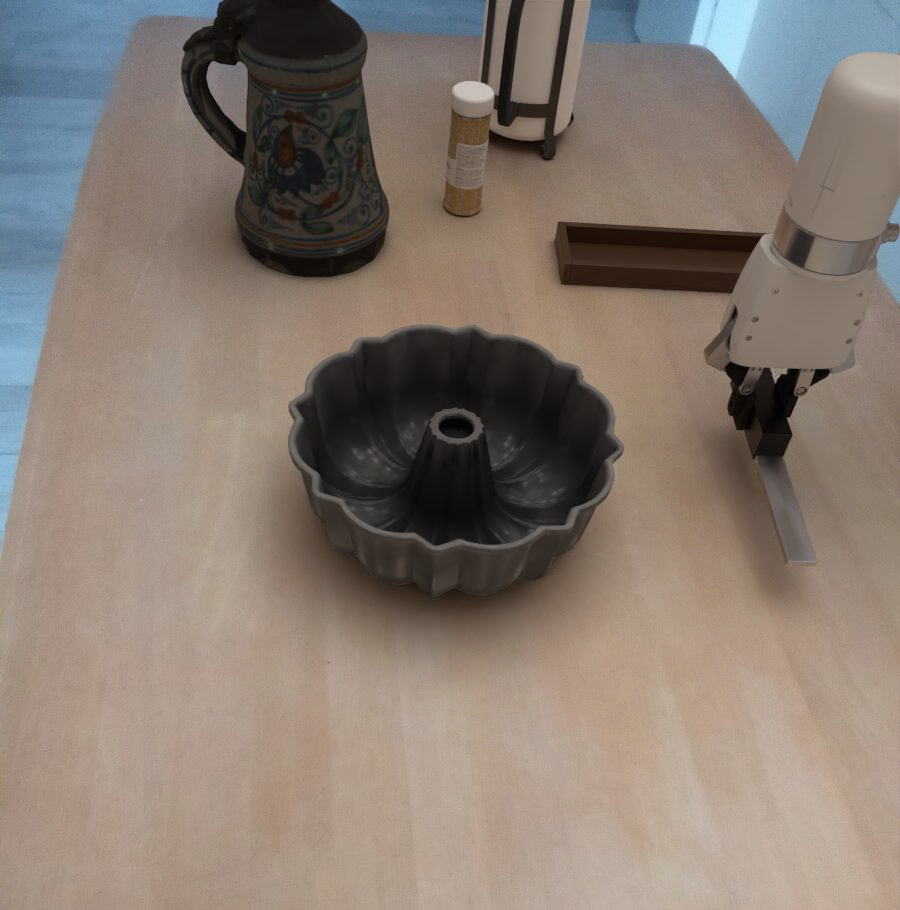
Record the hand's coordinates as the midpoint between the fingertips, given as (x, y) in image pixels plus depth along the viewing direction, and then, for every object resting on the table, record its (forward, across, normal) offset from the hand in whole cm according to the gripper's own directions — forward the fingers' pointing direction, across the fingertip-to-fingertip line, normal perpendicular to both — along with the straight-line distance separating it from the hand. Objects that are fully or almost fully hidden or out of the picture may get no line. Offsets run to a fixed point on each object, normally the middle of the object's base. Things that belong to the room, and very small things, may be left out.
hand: (755, 419), depth 91 cm
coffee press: (+5, +17, -57) cm, 59 cm away
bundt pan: (+4, +28, +8) cm, 29 cm away
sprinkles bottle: (+4, +25, -40) cm, 47 cm away
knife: (0, 0, +6) cm, 6 cm away
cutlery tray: (+5, +1, -30) cm, 30 cm away
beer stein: (+4, +43, -32) cm, 53 cm away
